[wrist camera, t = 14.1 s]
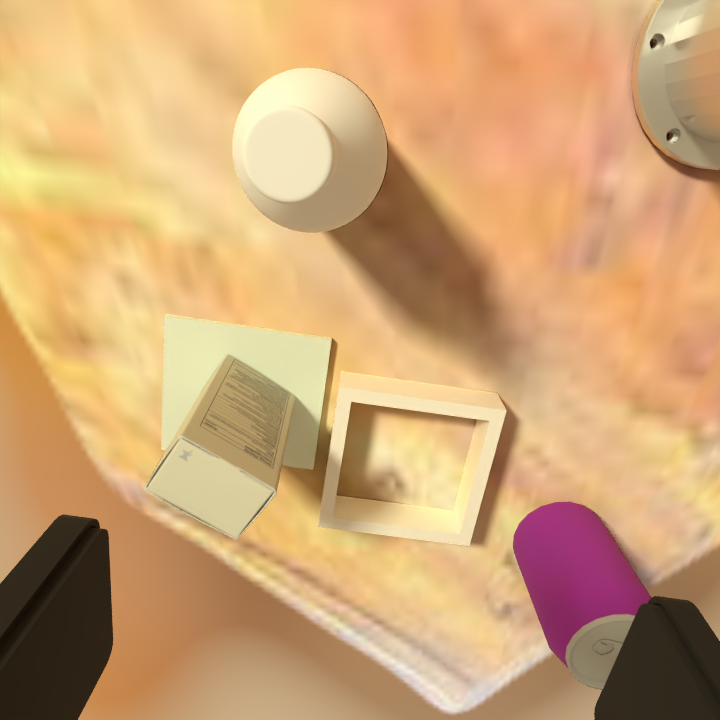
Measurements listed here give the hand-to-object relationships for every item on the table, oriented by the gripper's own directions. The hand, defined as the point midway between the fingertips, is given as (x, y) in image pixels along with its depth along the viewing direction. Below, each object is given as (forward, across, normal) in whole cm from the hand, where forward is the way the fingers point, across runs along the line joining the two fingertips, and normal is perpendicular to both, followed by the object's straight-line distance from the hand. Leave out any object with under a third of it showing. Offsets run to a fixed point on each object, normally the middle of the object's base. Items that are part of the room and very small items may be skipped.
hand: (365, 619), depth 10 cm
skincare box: (+30, +8, +11) cm, 33 cm away
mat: (+30, +8, +12) cm, 33 cm away
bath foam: (+31, +4, -6) cm, 32 cm away
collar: (+31, -4, +15) cm, 34 cm away
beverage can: (+31, -18, +21) cm, 42 cm away
